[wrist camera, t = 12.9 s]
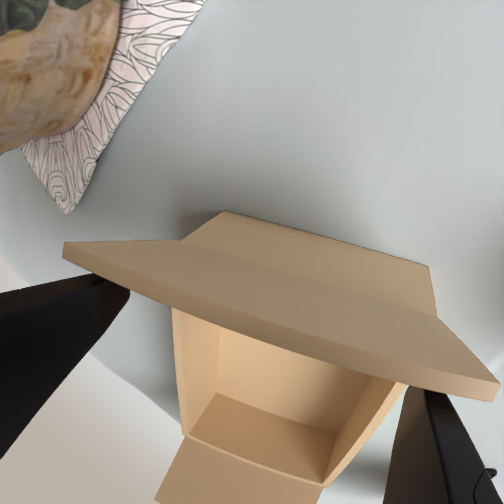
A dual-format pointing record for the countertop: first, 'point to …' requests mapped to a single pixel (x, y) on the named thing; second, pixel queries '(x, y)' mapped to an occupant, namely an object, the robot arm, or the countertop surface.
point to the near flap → (293, 313)
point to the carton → (287, 358)
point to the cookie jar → (77, 78)
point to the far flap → (227, 481)
